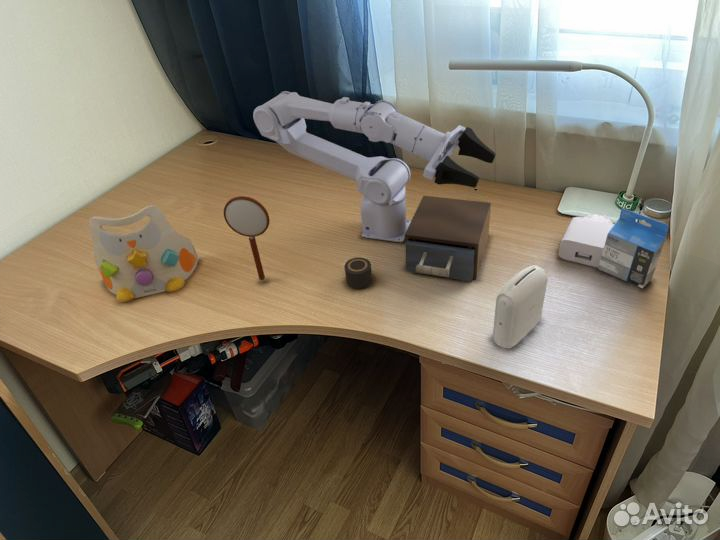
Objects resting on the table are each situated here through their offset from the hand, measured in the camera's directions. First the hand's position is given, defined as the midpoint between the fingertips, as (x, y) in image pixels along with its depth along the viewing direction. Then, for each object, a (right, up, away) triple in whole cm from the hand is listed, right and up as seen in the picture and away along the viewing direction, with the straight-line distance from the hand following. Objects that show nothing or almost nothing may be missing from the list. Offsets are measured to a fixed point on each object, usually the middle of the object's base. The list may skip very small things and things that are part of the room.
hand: (485, 170), depth 98 cm
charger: (+24, -13, +12) cm, 30 cm away
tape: (-23, -20, +8) cm, 32 cm away
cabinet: (-5, -15, +13) cm, 20 cm away
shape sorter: (-66, -21, +13) cm, 71 cm away
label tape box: (+27, -19, +3) cm, 33 cm away
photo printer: (+4, -29, -5) cm, 30 cm away
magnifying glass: (-43, -21, +11) cm, 49 cm away
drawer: (-7, -17, +9) cm, 20 cm away
